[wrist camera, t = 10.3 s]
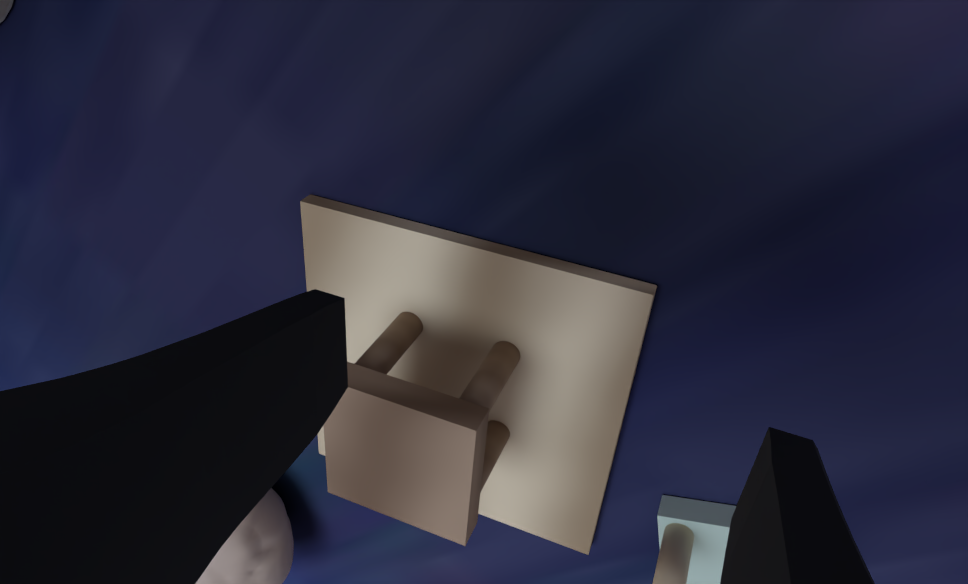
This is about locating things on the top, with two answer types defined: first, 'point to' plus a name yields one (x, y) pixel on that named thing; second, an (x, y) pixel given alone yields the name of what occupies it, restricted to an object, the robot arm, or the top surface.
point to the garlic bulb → (255, 548)
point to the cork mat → (473, 332)
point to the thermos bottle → (5, 8)
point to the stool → (416, 437)
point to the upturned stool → (691, 540)
